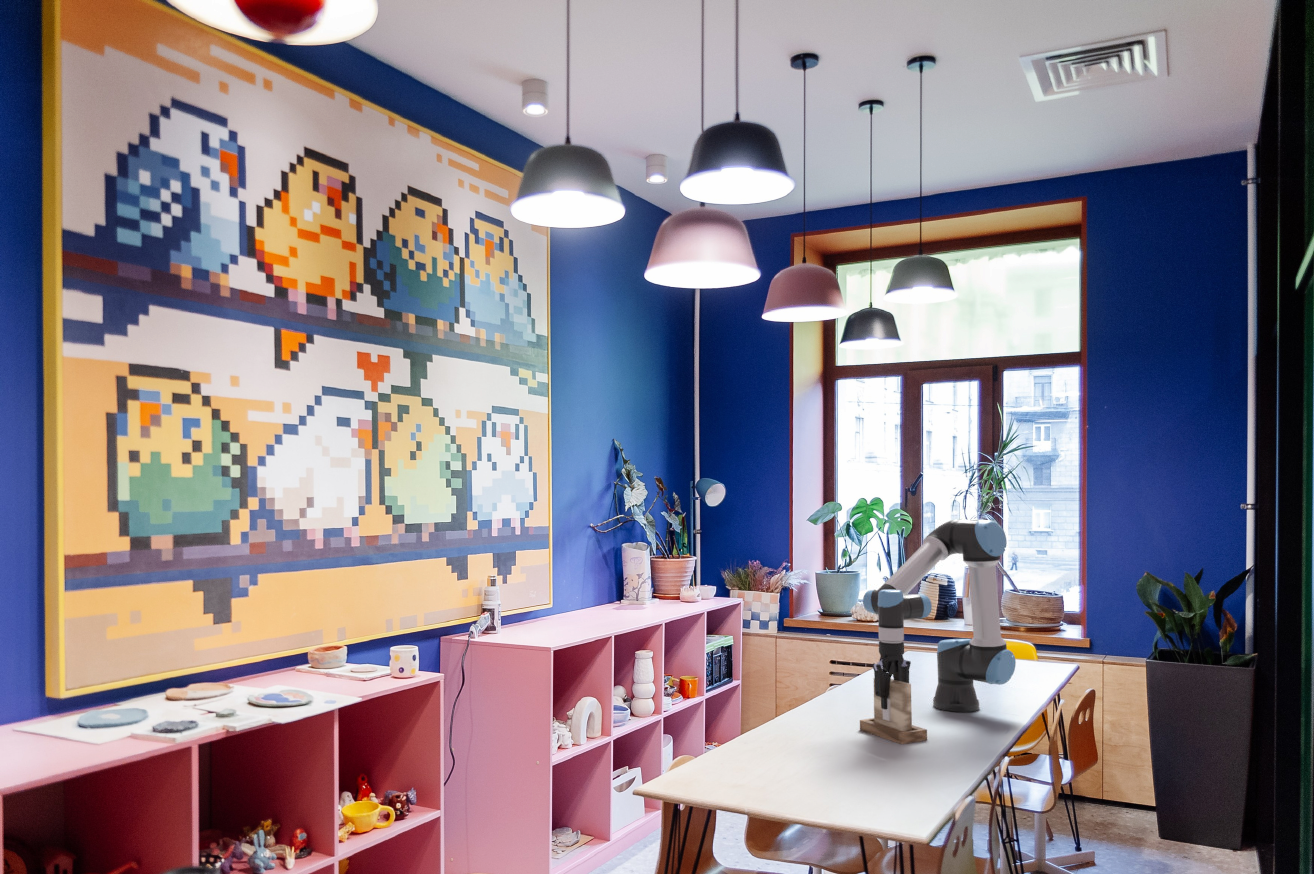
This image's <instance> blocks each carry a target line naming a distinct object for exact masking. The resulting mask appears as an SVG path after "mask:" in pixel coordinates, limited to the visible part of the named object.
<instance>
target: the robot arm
mask: <svg viewBox="0 0 1314 874" xmlns="http://www.w3.org/2000/svg"><path fill="white" fill-rule="evenodd" d="M1006 536H1007V535H1006V532H1005V530H1004V528H1003V527H1002V526H1001V525H1000V523H998V522H996V521H995V520H988V519H962V518H961V519H960V518H958V519H957V518H955V519H952V520H949V521H946V522H945V523H942V524H941V525H939V526H937V527H936V528H935V529H933V530H932V531H931V532H929V534H928V535H926V536H925V537H924V538H923V540H922V545H921V546H920V547H919V548H917V550H916V551H915V552H914V553H913V554H912V555H911V556H910V557H909V558H908V559H907V560H906V561H905V562H904V563H903V564H902V565H901V566H900V567H899V568H898V569H897V570H896V571H895V572H893V574H892V575H891V576H890V577H889V578H888V579H887V580H886V581H885V582H884V583H883V584H882V586H880V587H879V588H878V589H877V590H876V589H870V590H867V591H866V592H865V593H864V595H863V598H862V605H863V609H865V610H866V611H867V613H870V614H874V615H878V616H877V618H878V619H877V620H878V639H879V642H878V653H879V655H880V658H879V659H878V662H876V663H874V662H873V663H872V668H873V672H874V673H873V674H874V676H873V679H874V678H875V695H876V696H879V697H880V698H881V708H882V709H883V719H884V720H887V721H891V705H890V699H889V698H888V695H889V688H890V680H891V679H892V677H893V679H894V680H897V681H901V682H905V683H909V684H910V668H911V664H912V663H911V661H910V660H906V659H905V658H904V654H905V643H904V640H905V630H904V629H905V628H904V627H905V626H904V625H905V624H904V621H906V620H907V621H908V620H917V619H918V620H921V619H924V618H927V617H928V616H929V615H930V614H931V612H932V610H933V608H932V606H933V604H932V601H931V600H930V597H928V595H926V594H923V593H914V594H911V593H910V592H911V591H912V590H913V589H914V588H915V587H916V585H917V584H919V583H920V582H921V581H922V579H923V578H924V577H925V576H926V575H927V574H928V573H929V572H931V570H932V569H933V568H934V567H935V566H936V565H937V564H938V563H939V562H940V561H944V560H946V559H947V558H948V557H949V556H951V555H955V554H961V555H962V559H963V560H962V561H963V562H964V563H965V564H966V565H967V567H968V577H969V578H968V579H969V590H970V591H969V592H970V604H971V606H970V607H971V618H972V632H973V637H972V638H953V639H951V638H950V639H944V640H940V641H939V642H938V643H937V647H936V648H937V650H936V658H937V662H936V663H937V686H936V689H935V693H934V697H933V699H932V705H933V707H934V708H936V709H938V710H943V711H949V712H956V713H966V712H967V713H969V712H977V711H979V710H980V701H979V699H978V697H977V693H976V689H975V685H974V681H975V682H981V683H987V684H989V685H999V686H1000V685H1001V686H1002V685H1005V684H1007V683H1008V682H1009V681H1010V680H1011V678H1012V676H1013V675H1014V673H1015V669H1016V663H1017V662H1016V657H1015V654H1014V652H1012V651H1011V650H1010V649H1007V641H1005V639H1004V638H1002V633H1001V619H1000V607H999V606H1000V605H999V595H998V593H999V592H998V582H997V580H998V579H997V567H996V565H997V564H998V563H999V562H1000V561H1001V556H1002V555H1003V554H1004V553H1005V551H1006V547H1007V537H1006Z"/></svg>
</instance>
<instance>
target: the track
mask: <svg viewBox="0 0 1314 874" xmlns="http://www.w3.org/2000/svg"><path fill="white" fill-rule="evenodd" d="M859 731H861V732H862V731H863V732H864V733H868V734H871V735H874V736H876V737H879V738H882V739H886V740H889V741H890V742H891V741H892V742H895V743H898V744H900V745H904V744H910V743H917V742H922V741H927V740H928V729H926V728H923V727H920V726H916V725H914V724H912V731H907V732H904V731H901V730H897V729H894V728H891V727H888V726H885V725H882V724H879V723H876V722H874V717H872V718H871V717H870V718H865V719H859Z"/></svg>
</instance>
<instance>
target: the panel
mask: <svg viewBox="0 0 1314 874" xmlns="http://www.w3.org/2000/svg"><path fill="white" fill-rule="evenodd" d="M888 698H889V699H890V705H891V721H887V720H884V719H883V709H882V708H881V698H880V697H879V696H876V695H875V678H874V677H873V715H874V716H873V718H874V722H876V723H879V724H882V725H885V726H888V727H891V728H894V729H897V730H901V731H904V732H907V731H912V725H913V722H912V721H913V718H912V716H913V715H912V684H911V683H910V682H909V683H905V682H901V681H897V680H894V678H893V679H892V678H891V680H890V688H889V695H888Z"/></svg>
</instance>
